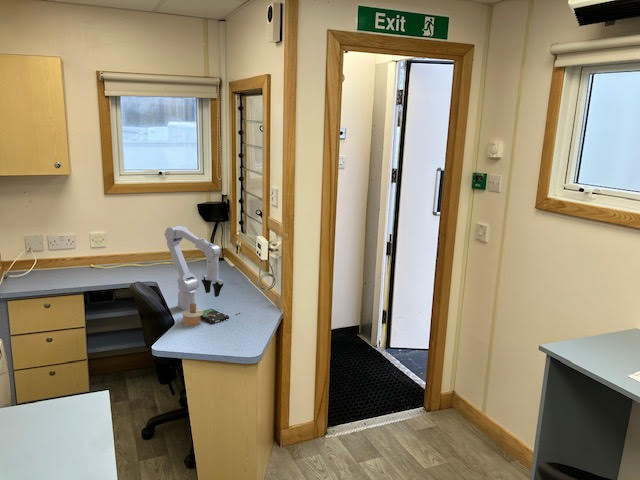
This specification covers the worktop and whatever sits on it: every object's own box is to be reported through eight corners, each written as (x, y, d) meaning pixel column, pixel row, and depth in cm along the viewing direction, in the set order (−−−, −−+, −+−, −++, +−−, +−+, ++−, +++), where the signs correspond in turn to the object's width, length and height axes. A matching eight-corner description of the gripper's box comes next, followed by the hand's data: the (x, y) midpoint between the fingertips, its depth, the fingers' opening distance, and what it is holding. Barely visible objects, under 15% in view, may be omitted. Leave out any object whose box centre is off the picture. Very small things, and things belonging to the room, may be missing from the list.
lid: (178, 313, 249) (178, 303, 248) (195, 308, 257) (195, 299, 256) (189, 318, 243) (189, 309, 242) (207, 314, 250) (207, 305, 249)
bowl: (179, 322, 250) (179, 313, 249) (193, 318, 256) (193, 310, 255) (189, 327, 245) (189, 318, 244) (203, 323, 251) (203, 314, 250)
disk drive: (229, 321, 257) (210, 313, 266) (229, 316, 256) (211, 308, 266) (212, 326, 249) (194, 317, 258) (212, 320, 249) (194, 312, 258)
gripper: (197, 267, 261) (197, 292, 263) (214, 273, 251) (214, 299, 254) (209, 265, 266) (208, 290, 269) (226, 271, 256) (225, 296, 259)
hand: (212, 294), depth 262 cm, fingers open, 7 cm apart
